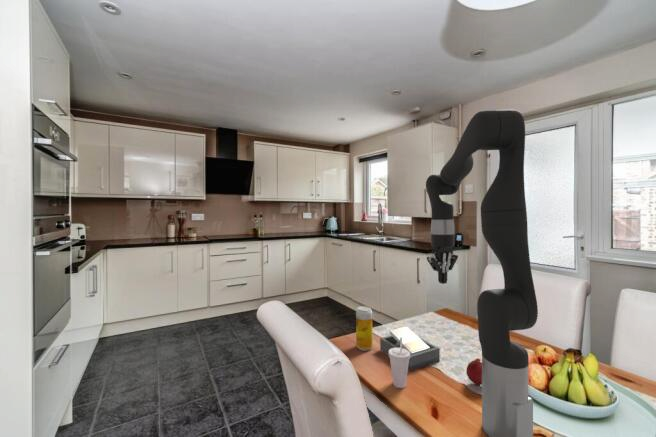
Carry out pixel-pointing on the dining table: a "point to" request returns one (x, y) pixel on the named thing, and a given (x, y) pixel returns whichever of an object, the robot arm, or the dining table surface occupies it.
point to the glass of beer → (364, 328)
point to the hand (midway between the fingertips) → (442, 283)
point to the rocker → (409, 340)
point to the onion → (475, 371)
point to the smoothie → (399, 365)
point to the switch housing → (415, 359)
